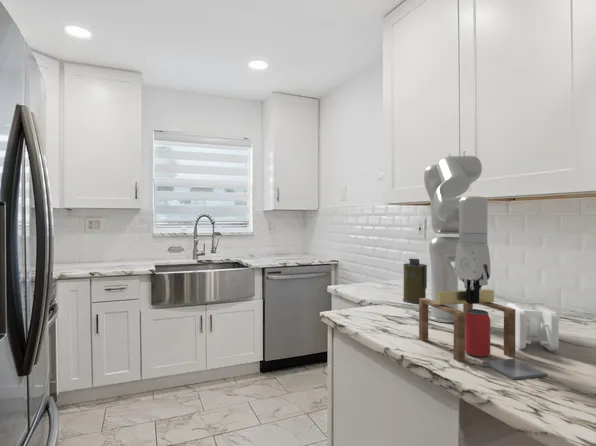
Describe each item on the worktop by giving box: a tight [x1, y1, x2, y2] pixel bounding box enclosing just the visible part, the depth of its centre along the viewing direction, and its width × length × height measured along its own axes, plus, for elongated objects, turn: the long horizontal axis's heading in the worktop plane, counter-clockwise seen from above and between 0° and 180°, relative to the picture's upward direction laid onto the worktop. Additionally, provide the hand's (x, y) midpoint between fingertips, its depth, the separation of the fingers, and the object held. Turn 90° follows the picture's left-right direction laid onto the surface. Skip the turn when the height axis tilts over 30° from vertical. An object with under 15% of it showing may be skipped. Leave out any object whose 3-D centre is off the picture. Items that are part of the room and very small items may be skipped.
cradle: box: [418, 298, 516, 362], centre depth 111 cm, size 20×18×13 cm
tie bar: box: [436, 288, 495, 305], centre depth 111 cm, size 2×18×4 cm, turn 103°
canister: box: [402, 258, 428, 304], centre depth 176 cm, size 11×10×20 cm
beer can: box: [465, 308, 491, 358], centre depth 106 cm, size 7×7×12 cm
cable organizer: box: [505, 302, 560, 353], centre depth 113 cm, size 15×11×12 cm
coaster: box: [481, 358, 548, 381], centre depth 94 cm, size 10×10×1 cm
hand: (472, 303), depth 108 cm, fingers closed
